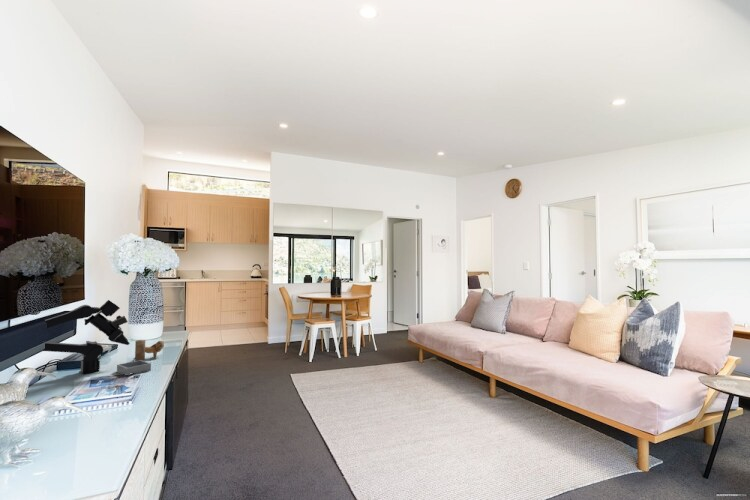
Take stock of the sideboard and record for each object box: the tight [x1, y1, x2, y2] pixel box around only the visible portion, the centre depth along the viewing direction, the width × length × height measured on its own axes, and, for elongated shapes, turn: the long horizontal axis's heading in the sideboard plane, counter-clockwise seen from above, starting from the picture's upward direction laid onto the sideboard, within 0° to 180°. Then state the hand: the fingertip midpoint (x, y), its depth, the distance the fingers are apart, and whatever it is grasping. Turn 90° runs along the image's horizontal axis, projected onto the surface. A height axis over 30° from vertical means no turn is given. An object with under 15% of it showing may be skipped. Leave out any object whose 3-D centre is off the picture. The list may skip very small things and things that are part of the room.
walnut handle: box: [134, 339, 146, 362], centre depth 190 cm, size 5×5×12 cm
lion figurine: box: [133, 340, 165, 360], centre depth 203 cm, size 15×5×9 cm, turn 130°
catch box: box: [116, 360, 152, 375], centre depth 178 cm, size 11×11×4 cm
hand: (128, 342), depth 187 cm, fingers open, 9 cm apart
